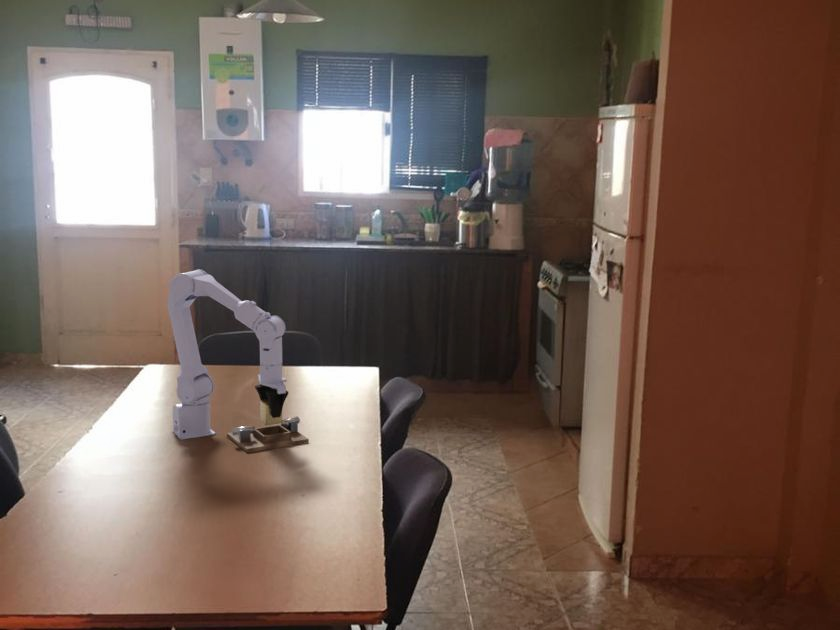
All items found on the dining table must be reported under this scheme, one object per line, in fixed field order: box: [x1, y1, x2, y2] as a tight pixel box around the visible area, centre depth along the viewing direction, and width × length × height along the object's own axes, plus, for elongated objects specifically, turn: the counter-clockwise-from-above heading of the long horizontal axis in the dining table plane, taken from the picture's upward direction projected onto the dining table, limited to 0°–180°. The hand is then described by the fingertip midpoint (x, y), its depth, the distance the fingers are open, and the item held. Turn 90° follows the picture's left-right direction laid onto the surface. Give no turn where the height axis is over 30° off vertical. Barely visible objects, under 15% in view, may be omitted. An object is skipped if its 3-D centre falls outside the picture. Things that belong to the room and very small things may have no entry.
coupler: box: [259, 399, 283, 426], centre depth 228 cm, size 5×4×6 cm
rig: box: [226, 424, 309, 454], centre depth 230 cm, size 17×15×3 cm
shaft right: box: [280, 416, 301, 434], centre depth 234 cm, size 5×4×4 cm
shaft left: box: [231, 425, 256, 443], centre depth 226 cm, size 6×4×4 cm, turn 110°
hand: (271, 414), depth 228 cm, fingers closed on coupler, 5 cm apart
